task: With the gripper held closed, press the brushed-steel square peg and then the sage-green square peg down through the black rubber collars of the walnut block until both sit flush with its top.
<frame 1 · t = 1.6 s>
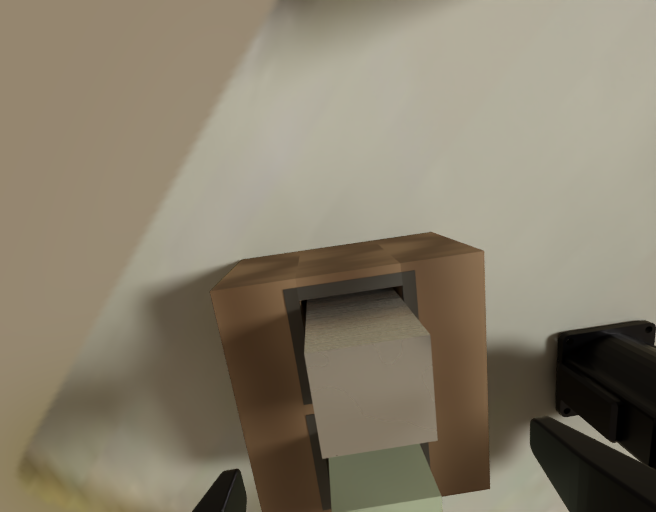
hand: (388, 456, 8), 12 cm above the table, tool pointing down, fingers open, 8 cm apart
steel peg: (360, 352, 13), point 7 cm above the table, slide at 4.0 cm
sage peg: (376, 475, 14), point 7 cm above the table, slide at 4.0 cm
walnut block: (349, 339, 20), on the table
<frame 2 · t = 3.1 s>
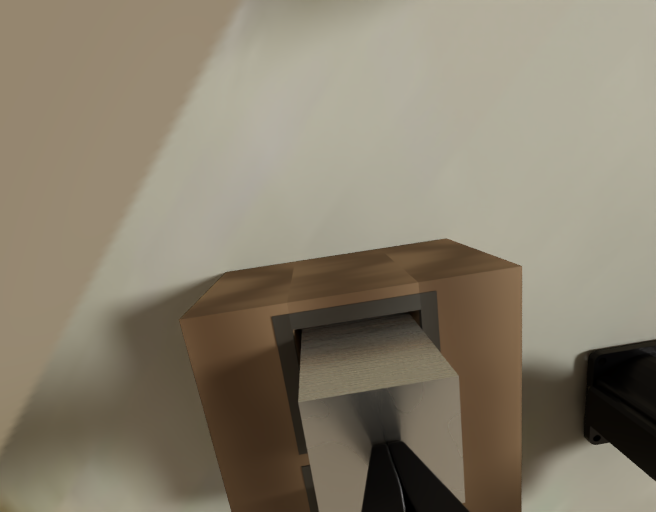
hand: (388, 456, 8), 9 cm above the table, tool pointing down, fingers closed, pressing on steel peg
steel peg: (366, 385, 11), point 7 cm above the table, slide at 3.4 cm, touching gripper
walnut block: (352, 362, 18), on the table
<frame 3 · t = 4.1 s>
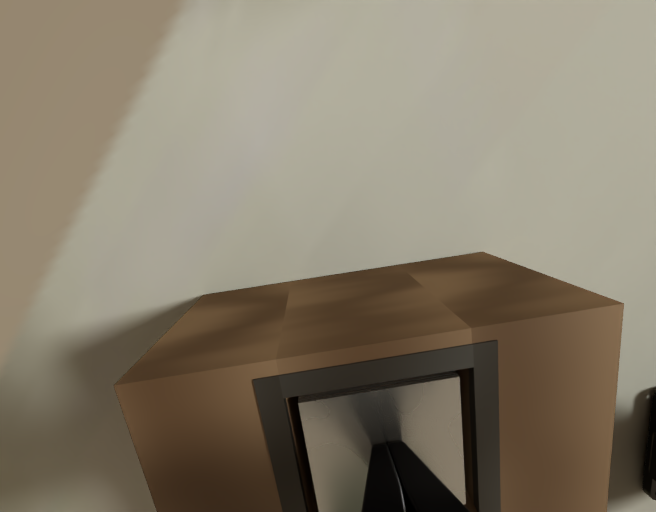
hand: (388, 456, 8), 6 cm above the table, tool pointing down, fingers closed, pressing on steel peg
steel peg: (366, 385, 11), point 3 cm above the table, slide at -0.1 cm, touching gripper
walnut block: (362, 404, 14), on the table
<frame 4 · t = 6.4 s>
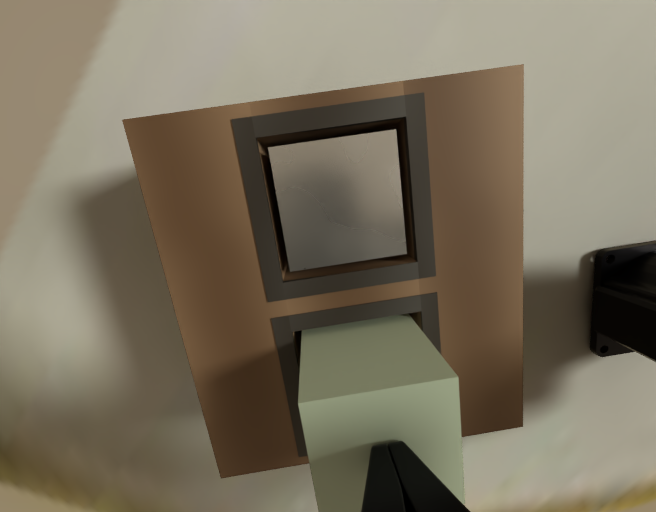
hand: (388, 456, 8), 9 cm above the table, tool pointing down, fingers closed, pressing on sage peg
steel peg: (333, 200, 13), point 3 cm above the table, slide at -0.1 cm
sage peg: (366, 385, 11), point 6 cm above the table, slide at 3.3 cm, touching gripper
walnut block: (337, 257, 16), on the table
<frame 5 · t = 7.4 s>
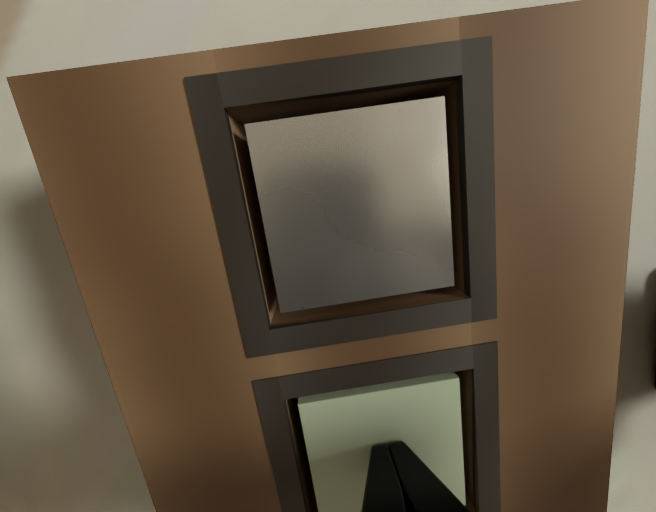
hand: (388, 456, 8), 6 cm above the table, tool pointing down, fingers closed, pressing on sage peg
steel peg: (342, 204, 9), point 3 cm above the table, slide at -0.1 cm
sage peg: (366, 386, 11), point 3 cm above the table, slide at -0.1 cm, touching gripper
walnut block: (345, 276, 13), on the table
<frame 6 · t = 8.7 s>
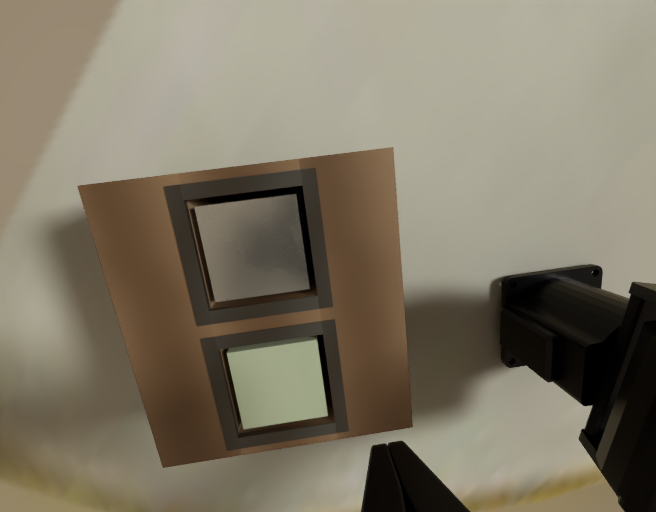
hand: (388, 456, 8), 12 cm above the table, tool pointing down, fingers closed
steel peg: (263, 238, 15), point 3 cm above the table, slide at -0.1 cm
sage peg: (283, 352, 17), point 3 cm above the table, slide at -0.1 cm
walnut block: (279, 280, 19), on the table
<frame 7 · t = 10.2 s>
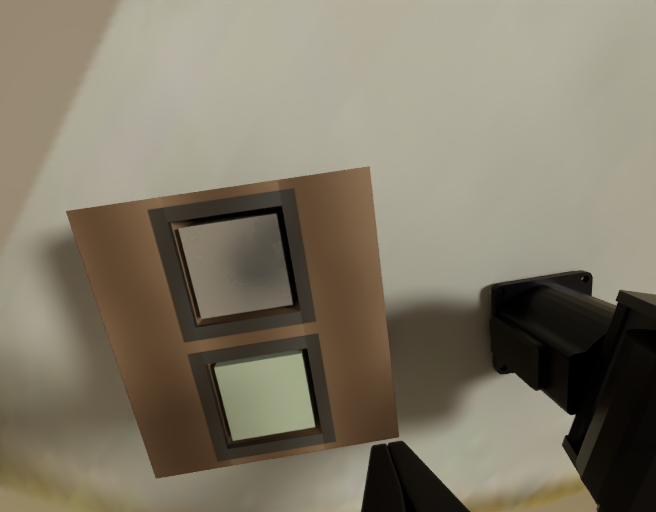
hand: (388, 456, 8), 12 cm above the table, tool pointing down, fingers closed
steel peg: (250, 253, 16), point 3 cm above the table, slide at -0.1 cm
sage peg: (273, 363, 17), point 3 cm above the table, slide at -0.1 cm
walnut block: (269, 292, 19), on the table
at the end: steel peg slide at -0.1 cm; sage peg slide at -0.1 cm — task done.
